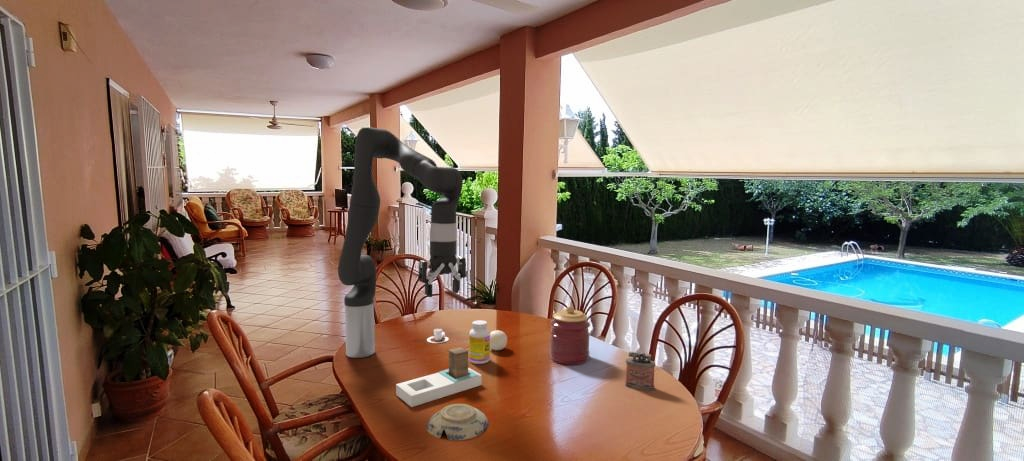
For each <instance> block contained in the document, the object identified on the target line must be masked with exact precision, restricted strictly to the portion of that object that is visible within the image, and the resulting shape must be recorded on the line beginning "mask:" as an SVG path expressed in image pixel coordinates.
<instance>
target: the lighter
mask: <svg viewBox="0 0 1024 461" xmlns="http://www.w3.org/2000/svg"><path fill="white" fill-rule="evenodd" d="M628 357H629V358H626V359H625V363H626V368H625V372H626V373H625V382H624V386H626V387H628V388H632V389H638V390H645V391H653V390H655V366H656V362H655V361H653V360H651V359H652V355H651V354H649V353H645V352H644V351H640V353H639V352H637V351H628Z"/></svg>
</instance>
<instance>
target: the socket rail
mask: <svg viewBox="0 0 1024 461" xmlns="http://www.w3.org/2000/svg"><path fill="white" fill-rule="evenodd" d="M482 376H483V375H482V374H480V372H477V371H475V370H474V369H473V368H470V367H468V375H467V376H464V377H460V378H457V379H454V378H453V377H451V376H449V368H446V369H443V370H440V371H438V372H435V373H431V374H428V375H425V376H421V377H417V378H413V379H411V380H407V381H404V382H403V381H402V382H399V383H396V384H395V388H396V389H395V391H396V392H395V394H396V395H395V396H397V397H398V398H400V399H401V400H402V401H403V402H404V403H405V404H406V405H408V406H409V407H410V408H414V407H416V406H417V407H418V406H420V405H423V404H425V403H428V402H432V401H436V400H438V399H441V398H444V397H448V396H452V395H455V394H457V393H460V392H464V391H467V390H470V389H472V388H476V387H479V386H482V382H483V380H482Z"/></svg>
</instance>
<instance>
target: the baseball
mask: <svg viewBox="0 0 1024 461" xmlns="http://www.w3.org/2000/svg"><path fill="white" fill-rule="evenodd" d="M507 343H508V336H507V335H506V333H505V332H504V331H502V330H498V329H497V330H492V331H491V332H490V350H491V349H492V350H493V351H501V350H504V348H505V347H506V345H507Z"/></svg>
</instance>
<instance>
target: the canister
mask: <svg viewBox="0 0 1024 461" xmlns="http://www.w3.org/2000/svg"><path fill="white" fill-rule="evenodd" d="M552 317H553V319H551V320H550V322H549V323H550V325H551V330H550V332H549V334H550V347H549V355H550V359H551V360H552V361H554V362H556V363H559V364H563V365H579V364H580V365H581V364H585V363H586V362H588V360H589V356H590V335H591V334H590V331H589V328H590V326H591V323H590V322H589V321H588V316H587V314H585V313H584V312H583V311H581V310H579V309H575V308H574V306H573V305H568V306H566V308H565V309H560V310H557V311H556V312H554V313H553V315H552Z"/></svg>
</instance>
